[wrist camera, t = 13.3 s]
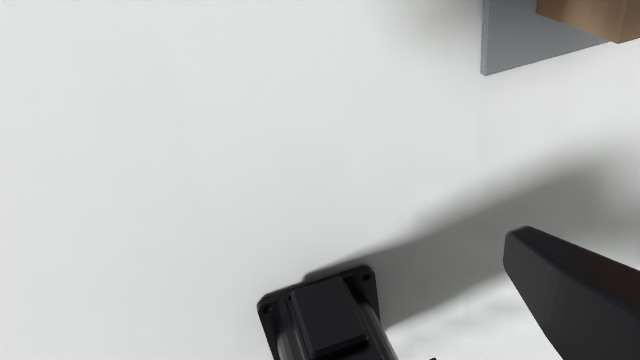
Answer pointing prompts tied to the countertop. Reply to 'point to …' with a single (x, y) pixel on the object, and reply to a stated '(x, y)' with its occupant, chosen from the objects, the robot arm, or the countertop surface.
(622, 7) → the letter cube
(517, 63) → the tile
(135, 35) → the countertop surface
